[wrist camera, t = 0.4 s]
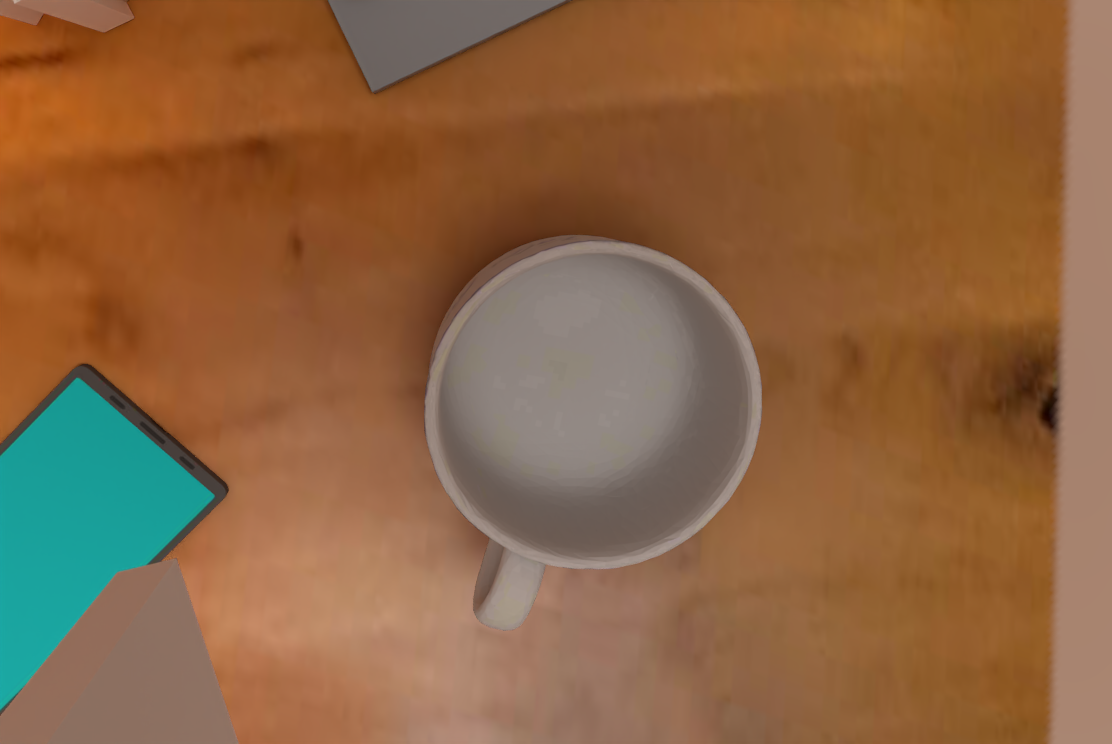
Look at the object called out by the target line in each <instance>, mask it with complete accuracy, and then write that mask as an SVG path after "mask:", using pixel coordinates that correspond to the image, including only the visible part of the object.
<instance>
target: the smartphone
mask: <svg viewBox="0 0 1112 744" xmlns="http://www.w3.org/2000/svg"><path fill="white" fill-rule="evenodd" d="M227 493H228V486H227V484H226V483H225V482H224V481H223V480H222V479H220V478H219V477H218V476H217V475H216V474H215V473H214V472H212V471H211V470H210V469H209V468H208V467H207V466H206V465H204V464H203V463H202V462H201V461H200V460H199V459H198V458H196V457H195V456H194V455H193V454H192V453H191V452H190V451H188V450H187V449H186V448H185V447H184V446H183V445H182V444H180V443H179V442H178V441H177V440H176V439H175V438H174V437H172V436H171V435H170V434H169V433H166V432H165V431H164V430H163V429H162V428H160V427H159V426H158V425H157V424H156V423H155V422H154V421H153V420H152V418H151V417H149V416H148V415H147V414H146V413H145V412H144V411H143V410H141V409H140V408H139V407H138V406H137V405H136V404H135V403H133V402H132V401H131V400H130V399H129V398H128V397H127V396H125V395H124V394H123V393H122V392H121V391H120V390H119V389H117V388H116V387H115V386H114V385H113V384H112V383H111V382H109V381H108V380H107V379H106V378H105V377H104V376H103V375H101V374H100V373H99V372H98V371H97V370H96V369H95V368H93V367H92V366H91V365H88V364H82V365H80V366H78V367H76V368H75V369H73V370H72V372H71V373H70V374H69V375H68V376H67V377H66V378H65V379H64V380H63V381H62V382H61V383H60V384H59V385H58V386H57V387H56V388H55V389H54V390H53V391H52V392H51V393H50V394H49V395H48V396H47V397H46V398H45V399H44V400H43V401H42V402H41V403H40V404H39V405H38V406H37V407H36V408H35V410H34V411H33V412H32V413H31V414H30V415H29V416H28V417H27V418H26V419H25V420H24V421H23V422H22V423H21V424H20V425H19V426H18V427H17V428H16V429H15V430H14V431H13V432H12V433H11V434H10V435H9V436H8V437H7V438H6V439H5V440H4V441H3V442H2V443H1V444H0V716H1V714H2V713H3V712H4V711H5V709H6V708H7V707H8V706H9V705H10V703H11V702H12V701H13V700H14V698H15V697H16V696H17V695H18V693H19V692H20V691H21V690H22V689H23V687H24V686H25V685H26V684H27V682H28V681H29V680H30V679H31V678H32V676H33V675H34V674H35V673H36V671H37V670H38V669H39V668H40V666H41V665H42V664H43V663H44V662H45V660H46V659H47V658H48V657H49V655H50V654H51V653H52V652H53V650H54V649H55V648H56V647H57V646H58V644H59V643H60V642H61V641H62V639H63V638H64V637H65V636H66V635H67V633H68V632H69V631H70V630H71V628H72V627H73V626H74V625H75V623H76V622H77V621H78V620H79V619H80V617H81V616H82V615H83V614H84V612H85V611H86V610H87V609H88V608H89V606H90V605H91V604H92V603H93V601H94V600H95V599H96V598H97V596H98V595H99V594H100V593H101V592H102V590H103V589H104V588H105V587H106V585H107V584H108V583H109V582H110V580H111V579H112V578H113V577H114V576H115V574H116V573H117V572H120V571H124V570H128V569H133V568H137V567H141V566H145V565H150V564H154V563H158V562H160V561H161V560H162V559H163V558H164V557H165V556H166V555H167V554H168V553H169V552H170V551H171V550H172V549H173V548H174V547H175V546H176V545H177V544H178V543H180V542H181V541H182V540H183V539H184V538H185V537H186V536H187V535H188V534H189V533H190V532H191V531H192V530H193V529H194V528H195V527H196V526H197V525H198V524H199V523H200V522H201V521H202V520H203V519H204V518H205V517H206V516H207V515H208V514H209V513H210V512H211V511H212V510H213V509H214V508H215V507H216V506H217V505H218V504H219V503H220V502H221V501H222V500H223V499H224V498H225V496H226V495H227Z"/></svg>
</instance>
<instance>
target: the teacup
mask: <svg viewBox="0 0 1112 744" xmlns="http://www.w3.org/2000/svg"><path fill="white" fill-rule="evenodd" d="M761 415H762V384H761V378H760V371H759V366H758V363H757V359H756V355H755V351H754V348H753V346H752V343H751V340H750V338H749V335H748V333H747V331H746V329H745V327H744V325H743V324H742V322H741V321H740V319H739V317H738V316H737V314H736V313H735V311H734V310H733V309H732V307H731V306H730V304H729V303H728V302H727V300H726V299H725V298H724V297H723V296H722V295H721V294H720V293H719V292H718V291H717V290H716V289H715V288H714V287H713V286H712V285H711V284H710V283H709V282H708V281H707V280H706V279H705V278H703V277H702V276H701V275H699V274H698V273H697V272H695V271H694V270H692V269H691V268H690V267H688V266H686V265H685V264H683V263H682V262H680V261H678V260H676V259H674V258H672V257H670V256H669V255H667V254H665V253H662V252H660V251H657V250H654V249H651V248H648V247H645V246H642V245H638V244H634V243H629V242H622V241H619V240H614V239H610V238H605V237H599V236H590V235H563V236H556V237H550V238H545V239H541V240H536V241H533V242H530V243H527V244H524V245H522V246H519V247H517V248H515V249H513V250H511V251H509V252H507V253H505V254H504V255H502V256H500V257H499V258H497V259H496V260H494V261H492V262H491V263H489V264H488V265H487V266H486V267H484V268H483V269H482V270H481V271H479V272H478V273H477V274H476V275H475V276H474V277H473V278H472V279H471V280H470V281H469V282H468V283H467V284H466V286H465V287H464V288H463V289H462V291H461V292H460V293H459V294H458V296H457V297H456V298H455V300H454V301H453V303H452V305H451V306H450V308H449V309H448V311H447V313H446V315H445V317H444V319H443V321H442V323H441V325H440V328H439V330H438V333H437V336H436V339H435V342H434V346H433V350H432V354H431V359H430V365H429V374H428V379H427V384H426V391H425V409H424V427H425V436H426V440H427V444H428V448H429V451H430V454H431V458H432V461H433V465H434V468H435V471H436V473H437V475H438V477H439V480H440V482H441V484H442V485H443V487H444V489H445V491H446V493H447V494H448V495H449V497H450V498H451V500H452V501H453V503H454V505H455V506H456V508H457V509H458V510H459V511H460V512H461V513H462V514H463V516H464V517H465V518H466V519H468V520H469V521H470V522H471V523H472V524H473V525H474V526H475V527H476V528H477V529H479V530H480V531H481V532H482V533H484V534H485V535H486V536H488V537H489V538H490V539H489V542H488V545H487V548H486V551H485V555H484V558H483V561H482V564H481V568H480V571H479V574H478V578H477V581H476V586H475V592H474V598H473V611H474V613H475V616H476V618H477V619H478V620H479V621H480V622H481V623H482V624H484V625H486V626H488V627H490V628H495V629H499V630H503V631H507V630H514V629H516V628H517V627H519V626H520V625H521V624H522V623H523V622H524V620H525V619H526V617H527V616H528V614H529V612H530V610H531V607H532V605H533V603H534V601H535V599H536V596H537V593H538V590H539V587H540V584H541V581H542V578H543V574H544V570H545V566H546V565H551V566H556V567H563V568H570V569H613V568H618V567H623V566H627V565H632V564H637V563H639V562H642V561H645V560H648V559H651V558H654V557H656V556H659V555H661V554H663V553H665V552H667V551H669V550H671V549H673V548H674V547H676V546H678V545H680V544H681V543H683V542H684V541H686V540H687V539H689V538H690V537H692V536H693V535H694V534H695V533H697V532H698V531H699V530H700V529H702V528H703V527H704V526H705V525H706V524H707V523H708V522H709V521H710V520H711V519H712V518H713V517H714V516H715V514H716V513H717V512H718V511H719V510H720V509H721V508H722V507H723V506H724V505H725V504H726V503H727V502H728V501H729V499H730V497H731V496H732V494H733V493H734V491H735V490H736V488H737V487H738V485H739V484H740V482H741V480H742V478H743V476H744V474H745V472H746V471H747V468H748V466H749V463H750V461H751V459H752V456H753V454H754V450H755V446H756V443H757V439H758V434H759V429H760V424H761Z"/></svg>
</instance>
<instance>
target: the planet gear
mask: <svg viewBox="0 0 1112 744" xmlns="http://www.w3.org/2000/svg"><path fill="white" fill-rule="evenodd" d="M127 1H129V0H0V15H1V16H5V17H8V18H12V19H15V20H18V21H22V22H25V23H29V24H32V25H37V24H38V22H39V20H40V19H41V17H42V15H43V14H44V13H45V14H48V15H51V16H54V17H57V18H60V19H63V20H66V21H69V22H72V23H75V24H79V25H82V26H85V27H88V28H91V29H94V30H97V31H100V32H103V33H104V32H107V31H109V30H111V29H113V28H115V27H117V26H119V25H121V24H123V23H125V22H128V21H130V20H132V19H134V18H135V17H134V16H133V14H132V12H131V10H130V8H129V6H128V4H127Z"/></svg>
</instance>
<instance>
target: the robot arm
mask: <svg viewBox="0 0 1112 744" xmlns="http://www.w3.org/2000/svg"><path fill="white" fill-rule="evenodd" d="M0 744H238V740H237V737H236V734H235V731H234V728H233V725H232V722H231V719H230V716H229V713H228V710H227V707H226V704H225V701H224V699H223V696H222V693H221V690H220V687H219V684H218V681H217V678H216V675H215V672H214V669H213V666H212V663H211V660H210V657H209V654H208V651H207V648H206V645H205V642H204V639H203V636H202V633H201V630H200V627H199V624H198V621H197V618H196V615H195V612H194V609H193V606H192V603H191V600H190V597H189V594H188V591H187V588H186V585H185V582H184V579H183V576H182V573H181V570H180V567H179V564H178V561H177V558H175V559H171V560H167V561H162V562H158V563H154V564H150V565H145V566H141V567H137V568H133V569H128V570H124V571H120V572H117V573H116V574H115V576H114V577H113V578H112V579H111V580H110V582H109V583H108V584H107V585H106V587H105V588H104V589H103V590H102V592H101V593H100V594H99V595H98V596H97V598H96V599H95V600H94V601H93V603H92V604H91V605H90V606H89V608H88V609H87V610H86V611H85V612H84V614H83V615H82V616H81V617H80V619H79V620H78V621H77V622H76V623H75V625H74V626H73V627H72V628H71V630H70V631H69V632H68V633H67V635H66V636H65V637H64V638H63V639H62V641H61V642H60V643H59V644H58V646H57V647H56V648H55V649H54V650H53V652H52V653H51V654H50V655H49V657H48V658H47V659H46V660H45V662H44V663H43V664H42V665H41V666H40V668H39V669H38V670H37V671H36V673H35V674H34V675H33V676H32V678H31V679H30V680H29V681H28V682H27V684H26V685H25V686H24V687H23V689H22V690H21V691H20V692H19V693H18V695H17V696H16V697H15V698H14V700H13V701H12V702H11V703H10V705H9V706H8V707H7V708H6V709H5V711H4V712H3V713H2V714H1V716H0Z"/></svg>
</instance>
